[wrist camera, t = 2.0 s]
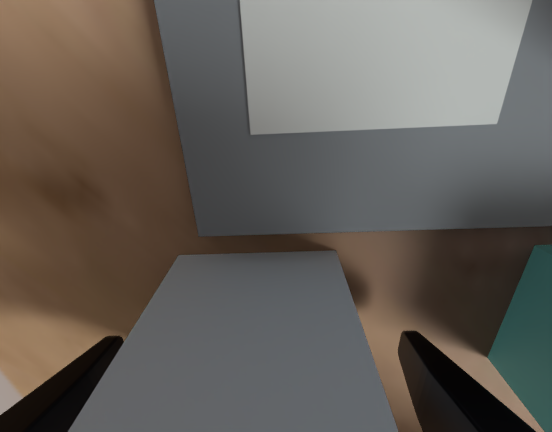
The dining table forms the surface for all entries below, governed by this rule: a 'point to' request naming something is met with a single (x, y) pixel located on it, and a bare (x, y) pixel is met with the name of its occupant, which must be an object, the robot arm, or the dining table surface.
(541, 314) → the teal block
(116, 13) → the dining table surface
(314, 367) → the grey block
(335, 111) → the mat
